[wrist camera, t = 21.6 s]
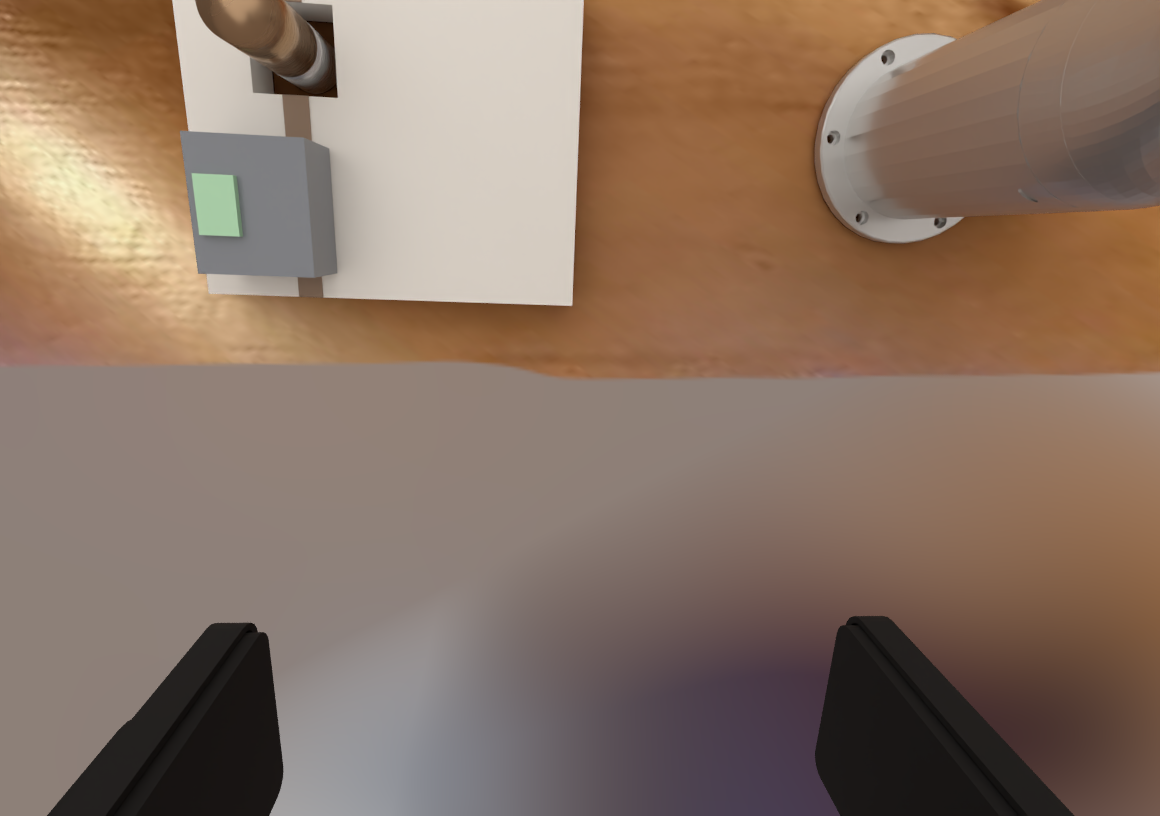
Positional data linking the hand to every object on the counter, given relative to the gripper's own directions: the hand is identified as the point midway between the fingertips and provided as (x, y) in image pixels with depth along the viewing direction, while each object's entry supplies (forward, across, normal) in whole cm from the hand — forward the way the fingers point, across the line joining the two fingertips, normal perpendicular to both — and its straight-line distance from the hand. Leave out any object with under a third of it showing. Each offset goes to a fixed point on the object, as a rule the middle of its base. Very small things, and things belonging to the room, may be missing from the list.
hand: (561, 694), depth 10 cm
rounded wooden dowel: (+33, +14, -16) cm, 40 cm away
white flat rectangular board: (+33, +9, -12) cm, 37 cm away
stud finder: (+30, +15, -8) cm, 35 cm away
